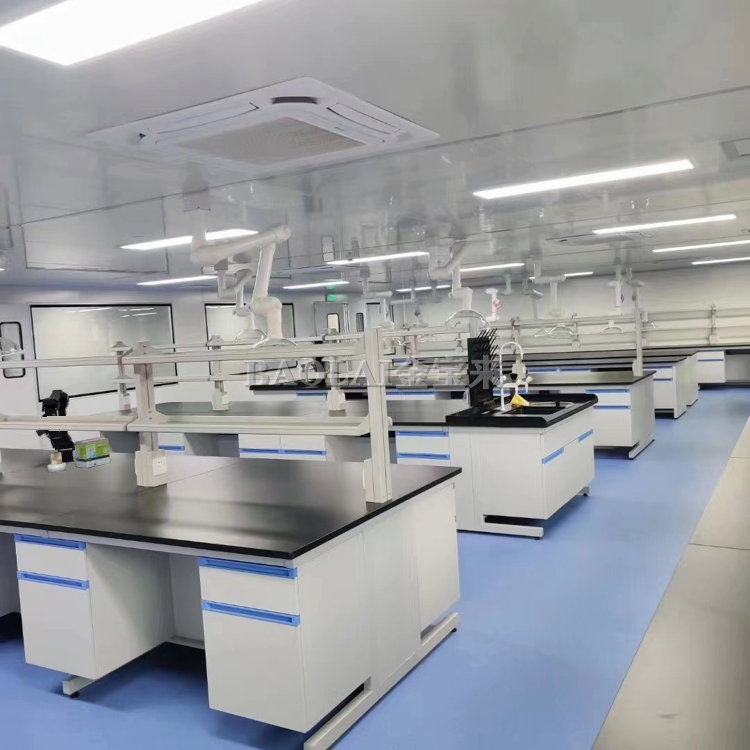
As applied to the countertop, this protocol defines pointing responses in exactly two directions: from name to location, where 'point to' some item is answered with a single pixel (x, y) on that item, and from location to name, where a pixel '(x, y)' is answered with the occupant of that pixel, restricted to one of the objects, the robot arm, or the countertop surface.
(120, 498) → the countertop surface
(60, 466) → the ceramic puck
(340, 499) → the countertop surface
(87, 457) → the tea box
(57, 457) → the birch block
